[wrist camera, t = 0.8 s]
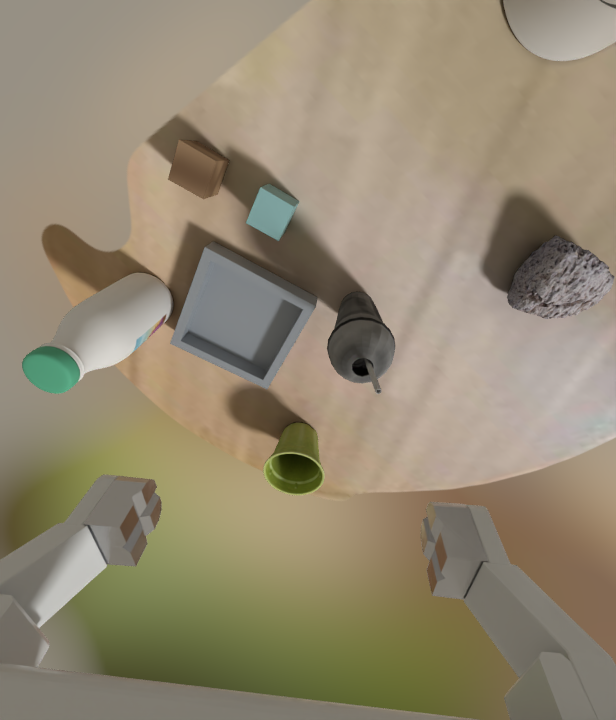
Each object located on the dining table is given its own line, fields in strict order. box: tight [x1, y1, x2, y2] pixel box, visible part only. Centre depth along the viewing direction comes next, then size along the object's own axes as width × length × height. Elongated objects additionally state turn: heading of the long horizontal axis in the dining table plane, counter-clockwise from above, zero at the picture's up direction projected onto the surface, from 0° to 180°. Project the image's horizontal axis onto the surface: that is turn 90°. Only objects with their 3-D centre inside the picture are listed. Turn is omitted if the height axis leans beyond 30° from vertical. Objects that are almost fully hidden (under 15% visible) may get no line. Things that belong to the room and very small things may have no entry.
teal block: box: [246, 184, 299, 241], centre depth 40 cm, size 4×4×5 cm
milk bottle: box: [22, 273, 173, 393], centre depth 41 cm, size 8×8×20 cm
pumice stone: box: [507, 235, 614, 319], centre depth 40 cm, size 10×8×10 cm
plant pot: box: [263, 423, 324, 495], centre depth 57 cm, size 9×9×9 cm
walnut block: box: [168, 140, 230, 199], centre depth 38 cm, size 4×4×5 cm
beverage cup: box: [327, 292, 395, 394], centre depth 39 cm, size 7×7×20 cm
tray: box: [170, 241, 317, 389], centre depth 48 cm, size 15×15×3 cm
